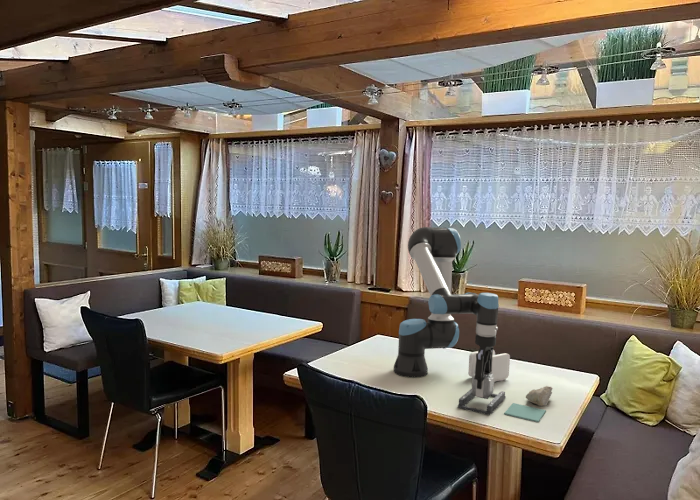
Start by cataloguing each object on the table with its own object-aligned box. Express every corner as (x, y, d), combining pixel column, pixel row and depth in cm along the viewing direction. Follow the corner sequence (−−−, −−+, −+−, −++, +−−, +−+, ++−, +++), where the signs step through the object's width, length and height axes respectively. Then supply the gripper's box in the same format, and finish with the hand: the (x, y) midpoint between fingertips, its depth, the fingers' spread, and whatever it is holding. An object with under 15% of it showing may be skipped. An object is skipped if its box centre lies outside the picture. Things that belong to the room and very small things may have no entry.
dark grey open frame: (457, 407, 195) (457, 399, 195) (475, 392, 212) (475, 384, 212) (489, 415, 189) (490, 407, 189) (505, 398, 206) (505, 390, 206)
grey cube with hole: (470, 395, 200) (472, 374, 199) (475, 390, 205) (477, 370, 204) (488, 399, 196) (489, 378, 196) (493, 394, 202) (494, 373, 201)
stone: (524, 409, 205) (520, 390, 201) (538, 388, 212) (535, 369, 208) (543, 416, 200) (540, 396, 195) (557, 394, 207) (554, 375, 203)
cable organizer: (485, 385, 221) (487, 358, 220) (466, 378, 230) (468, 351, 229) (509, 379, 230) (510, 353, 229) (490, 372, 238) (491, 347, 237)
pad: (504, 414, 190) (504, 412, 190) (512, 404, 201) (513, 402, 200) (538, 422, 184) (538, 420, 184) (545, 411, 194) (545, 410, 194)
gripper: (488, 341, 188) (484, 404, 191) (503, 331, 205) (499, 388, 207) (467, 338, 192) (464, 399, 195) (484, 328, 208) (480, 384, 211)
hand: (482, 393), depth 201 cm, fingers closed on grey cube with hole, 6 cm apart
